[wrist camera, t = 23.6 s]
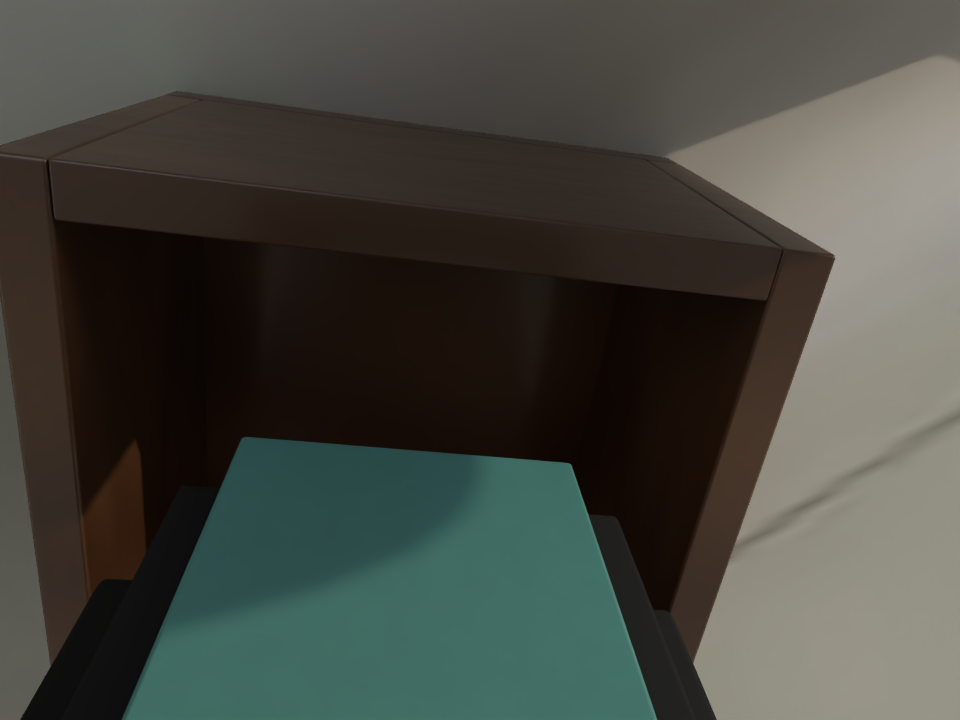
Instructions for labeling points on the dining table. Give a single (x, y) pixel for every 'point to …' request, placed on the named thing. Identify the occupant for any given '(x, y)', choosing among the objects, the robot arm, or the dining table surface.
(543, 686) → the block
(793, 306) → the chest
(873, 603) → the dining table surface
